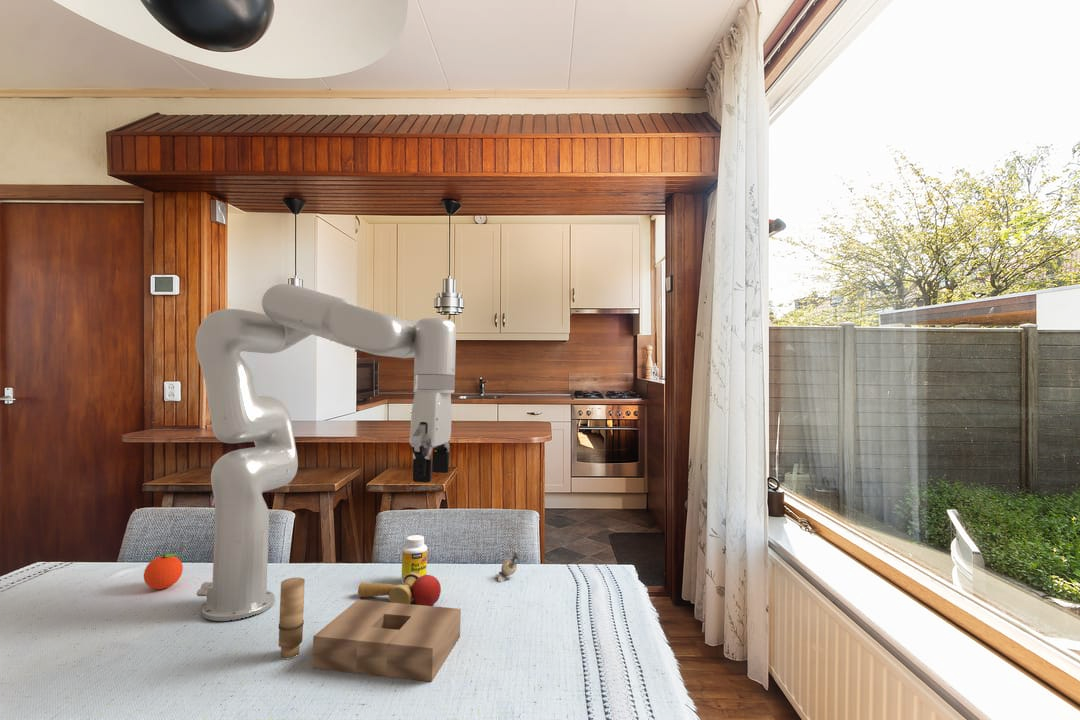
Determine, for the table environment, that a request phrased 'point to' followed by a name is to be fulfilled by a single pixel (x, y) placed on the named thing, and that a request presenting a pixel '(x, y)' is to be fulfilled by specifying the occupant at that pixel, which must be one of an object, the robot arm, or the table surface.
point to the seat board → (388, 640)
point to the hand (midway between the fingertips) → (431, 476)
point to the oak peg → (291, 616)
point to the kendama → (406, 590)
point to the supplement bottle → (414, 556)
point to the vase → (509, 567)
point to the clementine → (163, 571)
